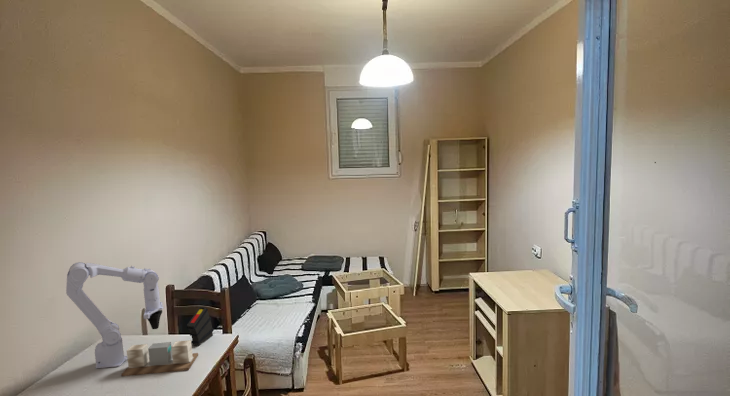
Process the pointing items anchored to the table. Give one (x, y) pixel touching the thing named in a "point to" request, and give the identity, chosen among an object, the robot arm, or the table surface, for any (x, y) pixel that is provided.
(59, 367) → the table surface
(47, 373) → the table surface
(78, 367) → the table surface
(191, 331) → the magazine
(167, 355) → the block
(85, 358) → the table surface
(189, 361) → the board
